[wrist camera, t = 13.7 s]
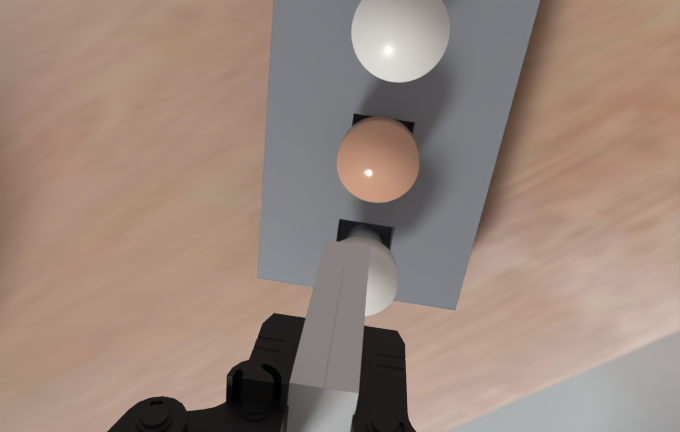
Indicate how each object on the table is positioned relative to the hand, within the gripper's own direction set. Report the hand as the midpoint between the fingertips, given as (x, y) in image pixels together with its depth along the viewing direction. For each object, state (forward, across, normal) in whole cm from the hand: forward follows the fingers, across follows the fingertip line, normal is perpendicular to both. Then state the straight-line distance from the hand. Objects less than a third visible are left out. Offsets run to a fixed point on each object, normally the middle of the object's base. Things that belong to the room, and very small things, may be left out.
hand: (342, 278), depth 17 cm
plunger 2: (+14, +1, +7) cm, 15 cm away
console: (+17, +1, +1) cm, 17 cm away
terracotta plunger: (+15, +1, +1) cm, 15 cm away
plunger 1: (+14, +1, -6) cm, 15 cm away
